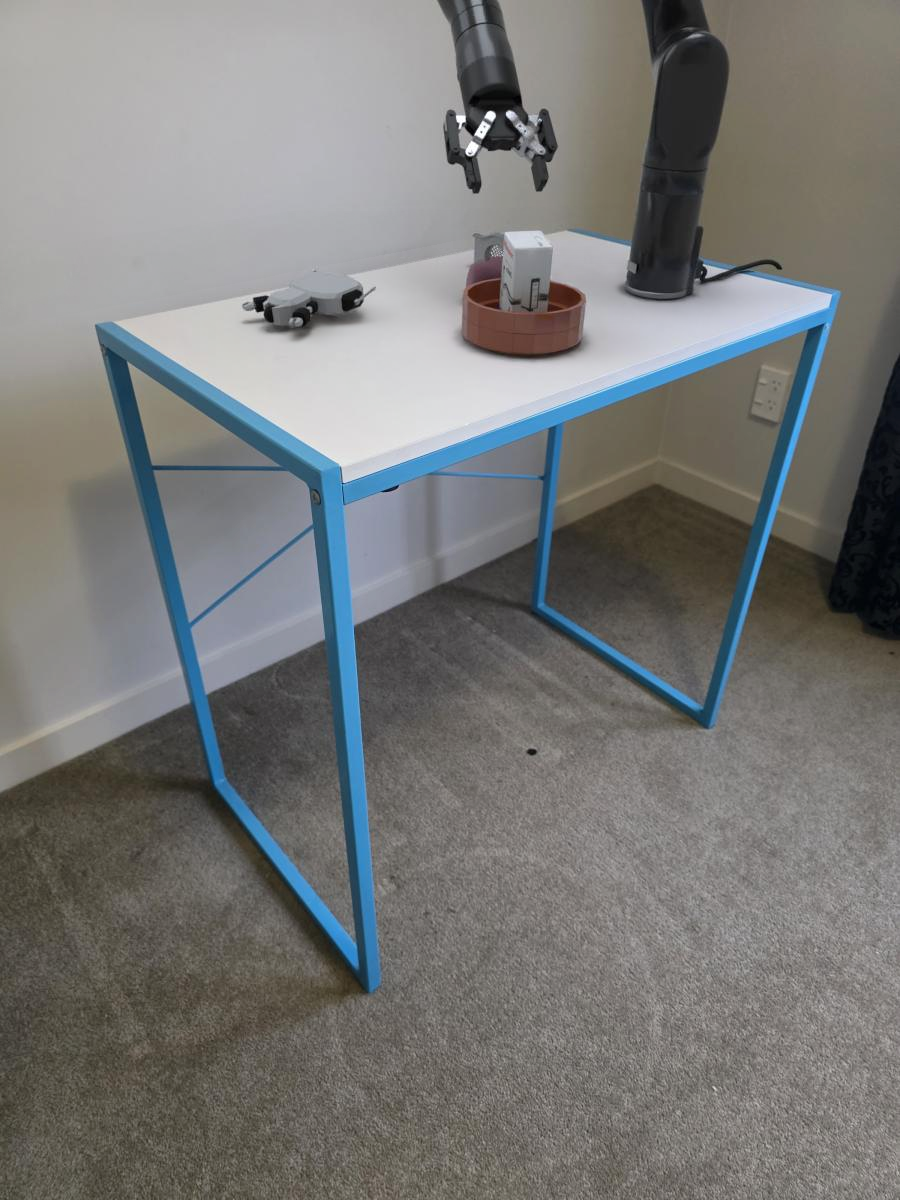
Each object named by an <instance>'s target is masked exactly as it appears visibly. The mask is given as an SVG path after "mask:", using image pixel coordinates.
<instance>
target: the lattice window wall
mask: <svg viewBox="0 0 900 1200" xmlns="http://www.w3.org/2000/svg"><path fill="white" fill-rule="evenodd" d="M471 236H472V237H473V238H474V250H473V251H474V252H473V264H474V263H475V262H477V260H479V259H486V258H490V257H495V256H499V257H503V247H504V233H503V232H500V231H494V232H490V233H487V234H486V233H482V232H479V231H474V233H473V234H472V235H471Z"/></svg>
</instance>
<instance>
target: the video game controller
mask: <svg viewBox="0 0 900 1200" xmlns="http://www.w3.org/2000/svg"><path fill="white" fill-rule="evenodd" d="M502 261H503V257H501V256H500V257H499V256H498V255H497V256H496V255H495V257H490V258H486V259H479V260H477V262H475V263H474V262H473V264H471V266H470V267H469V269H468V273H467V276H466V281H465V289H466V288H467V287H468V286H470V285H472V284H474V283H477V282H480V281H485V280H491V279H497V278H501V275H502Z"/></svg>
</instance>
